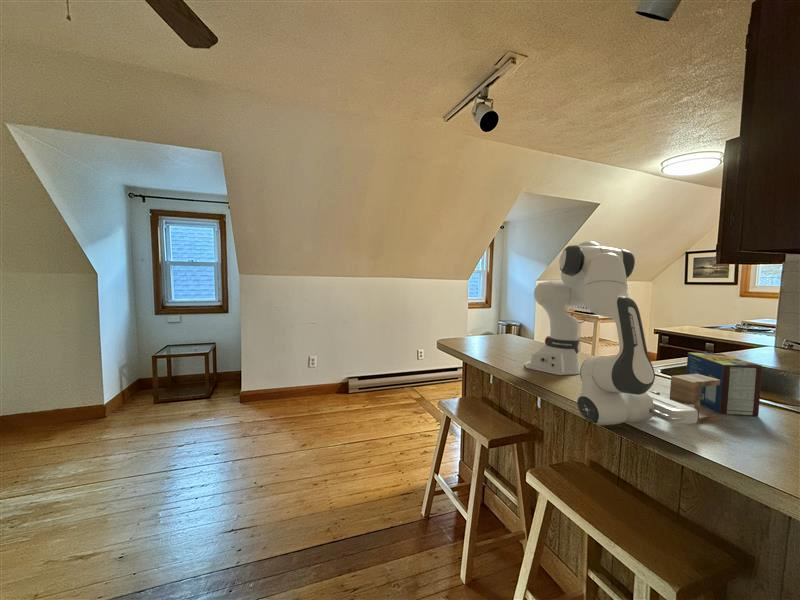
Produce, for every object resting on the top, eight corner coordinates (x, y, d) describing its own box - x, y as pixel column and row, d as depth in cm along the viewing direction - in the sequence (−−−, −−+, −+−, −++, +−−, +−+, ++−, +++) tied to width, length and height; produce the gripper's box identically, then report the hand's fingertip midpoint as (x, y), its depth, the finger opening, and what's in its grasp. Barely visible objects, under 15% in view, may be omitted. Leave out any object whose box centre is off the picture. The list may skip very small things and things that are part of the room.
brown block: (690, 424, 92) (693, 382, 91) (668, 415, 98) (671, 375, 97) (716, 420, 95) (720, 379, 94) (694, 412, 100) (697, 373, 99)
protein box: (717, 397, 112) (721, 353, 111) (759, 417, 97) (764, 365, 96) (683, 395, 114) (686, 352, 113) (719, 414, 99) (723, 364, 98)
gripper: (674, 408, 81) (716, 403, 84) (605, 381, 101) (641, 378, 104) (672, 433, 81) (714, 427, 85) (604, 401, 101) (640, 397, 104)
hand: (673, 400), depth 94 cm, fingers open, 8 cm apart
